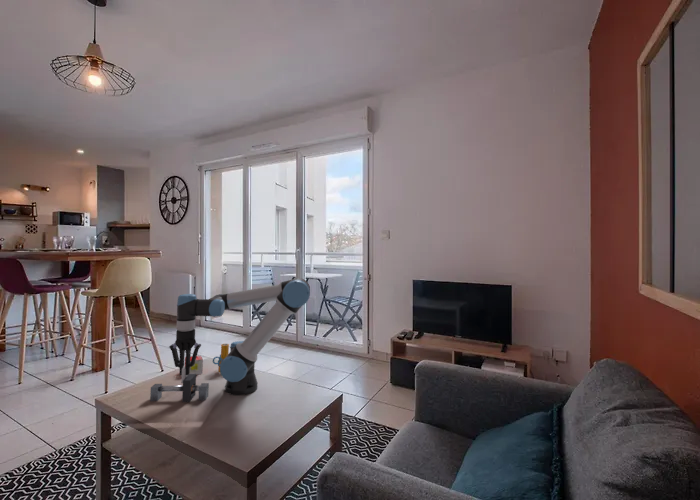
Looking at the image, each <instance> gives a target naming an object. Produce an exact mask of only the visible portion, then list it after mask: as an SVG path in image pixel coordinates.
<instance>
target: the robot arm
mask: <svg viewBox="0 0 700 500" xmlns="http://www.w3.org/2000/svg"><path fill="white" fill-rule="evenodd" d="M310 297H311V286H310V285H309V282H308V281H307V280H305V279H304V278H301V277H295V278H292V279H289V280H285V281H281V282H280V283H279V284H275V285H269V286H268V285H267V286H264V287H256V288H251V289H246V290H241V291H234V292H229V293H225V294H224V293H223V294H222V293H220V294H216V295H214V296H212V297H210V298H207V299H204V298H202V299H200V298H197V294H193V293H184V294H179V296H178V297H177V304H176V332H175V333H176V334H175V335H176V336H175V337H176V339H175V341H174V343H172V344H171V345H169V347H168V348H169V349H170V351H171V354H172V358H173V363H174V367H175V368H179V376H181V384H183V380H184V379H185V378H186V377H187V375H189V373H190V367H192V366H193V365H194V364H195V360H196V357H197V356H198V353H199V350H200V348H201V346H202V344H201V343H198V342H197V340H196V320H197V318H196V317H214V318H216V317H221V316H223V315H224V313H225V310H226V311H227V310H230V309H236V308H241V307H247V306H253V305H258V304H264V303H268V302H275V304H273V305H272V307H271V308H270V310H269V311H267V313H266V314H265V315H264V317H263V318H262V319H261V320H260V321H259V322H258V323H257V325H256V326H255V327H254V328H253V330H252V331H251V332H250V333H249V334H248V335H247V337H246V338H245V339H244V340H240V341H239V340H238V341H233V342H231V343H230V346H229V350H230V351H229V354H228V355H227V357H226V358H225V359H224V360H223V361H222V363H221V366H220V373H219V374H220V375H221V377H222V379H224V380H226V383H225V387H224V391H225V392H226V393H227V395H228V394H229V395H232V396H242V395H244V396H245V395H248V394H251V393H253V392H255V391H257V389H258V380H257V377H256V373H255V367H256V365H255V363H256V362H257V361H258V354H259V353H260V352H261V351H262V349H264V347H265V346H266V345H267V343H268V342H269V341H270V340H271V339H272V338H273V336H274V335H275V334H276V333H277V332H278V331H279V329H280V328H281V327H282V325H283V324H284V323H285V322H286V321H287V320H288V318H289V317H290V316H291V315H293V314H294V315H295V314H297V313H298V312H299V310H300V309H301V308H302V307H303V306H304V305H306V303H308V301H309V299H310ZM193 347H194V349H193V351H192V348H193ZM177 348H178V349H179V350H178V349H177ZM178 351H179V352H178ZM191 352H193V353H191ZM191 354H192V355H191ZM191 356H192V359H191V363H190V357H191ZM185 357H186V365H185Z"/></svg>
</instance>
